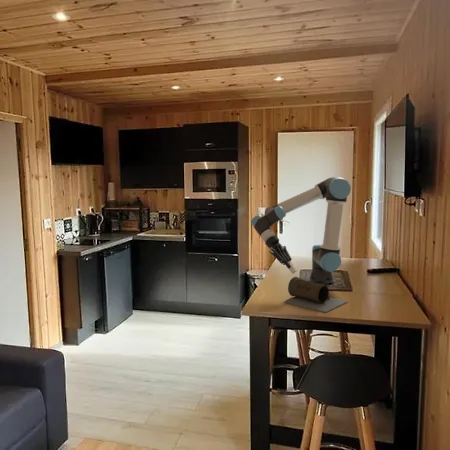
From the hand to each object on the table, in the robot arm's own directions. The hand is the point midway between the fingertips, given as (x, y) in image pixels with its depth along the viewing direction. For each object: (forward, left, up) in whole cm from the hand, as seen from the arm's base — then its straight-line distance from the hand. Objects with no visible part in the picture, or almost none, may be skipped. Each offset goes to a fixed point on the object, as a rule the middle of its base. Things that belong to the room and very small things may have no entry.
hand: (294, 272), depth 228 cm
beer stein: (-1, -3, -9) cm, 9 cm away
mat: (-13, +6, -14) cm, 20 cm away
